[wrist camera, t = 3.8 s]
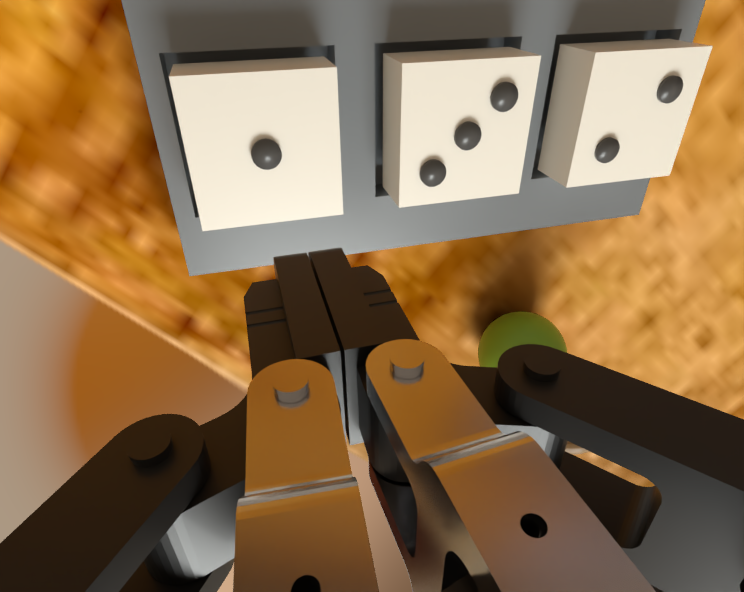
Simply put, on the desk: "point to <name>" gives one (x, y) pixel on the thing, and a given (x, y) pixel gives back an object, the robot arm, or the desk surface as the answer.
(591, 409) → the robot arm
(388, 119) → the tile three dots
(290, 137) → the tile one dot
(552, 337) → the snail figurine
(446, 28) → the socket board
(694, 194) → the desk surface
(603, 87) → the tile two dots
